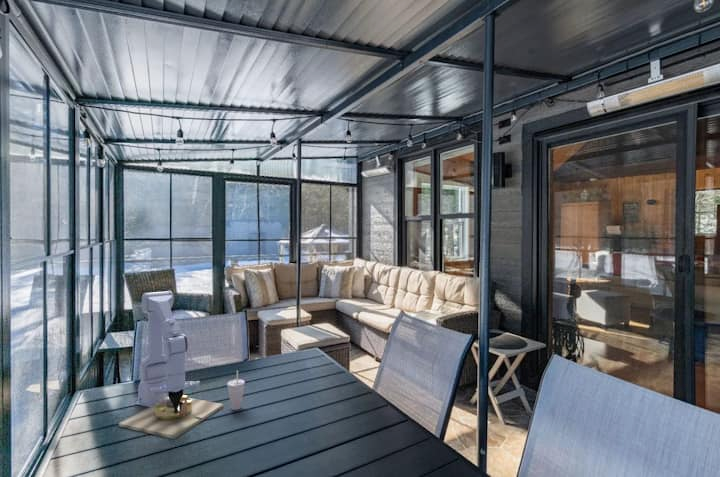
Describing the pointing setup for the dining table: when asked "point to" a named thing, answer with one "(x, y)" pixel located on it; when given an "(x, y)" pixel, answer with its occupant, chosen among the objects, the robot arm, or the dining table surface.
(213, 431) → the dining table surface
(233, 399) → the smoothie
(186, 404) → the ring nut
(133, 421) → the base plate
